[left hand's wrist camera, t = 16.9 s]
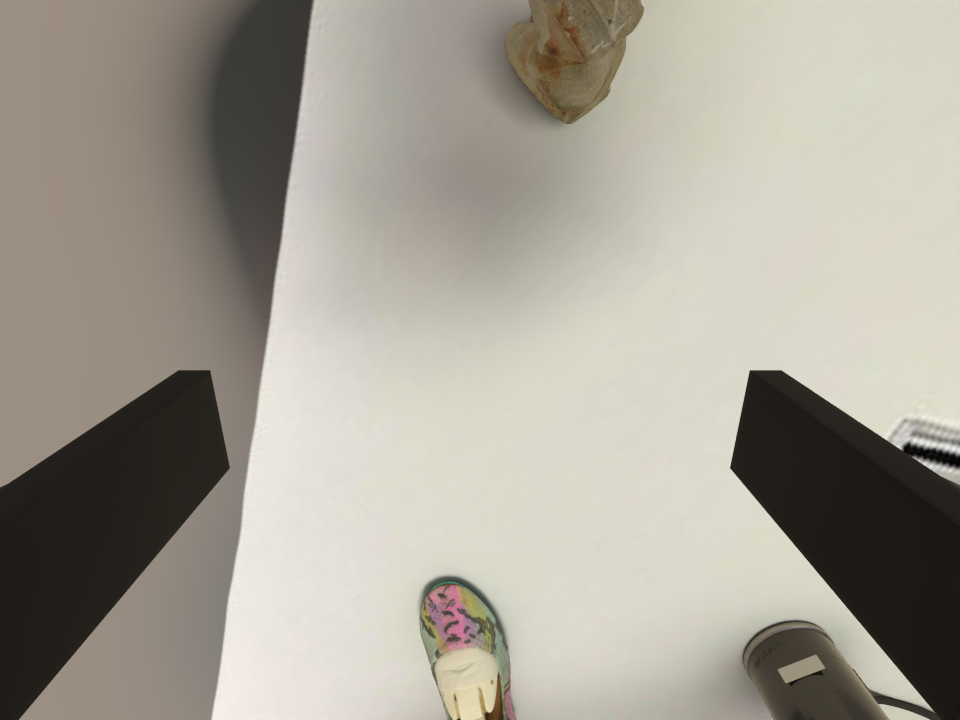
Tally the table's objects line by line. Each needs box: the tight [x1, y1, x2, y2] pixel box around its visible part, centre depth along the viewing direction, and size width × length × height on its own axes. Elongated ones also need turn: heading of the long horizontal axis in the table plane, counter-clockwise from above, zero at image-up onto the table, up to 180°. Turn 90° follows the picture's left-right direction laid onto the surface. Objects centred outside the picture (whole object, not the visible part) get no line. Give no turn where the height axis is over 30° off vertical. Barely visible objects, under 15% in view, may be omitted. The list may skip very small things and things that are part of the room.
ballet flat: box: [420, 581, 516, 720], centre depth 52 cm, size 8×24×9 cm, turn 10°
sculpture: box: [505, 0, 644, 124], centre depth 29 cm, size 6×7×15 cm
